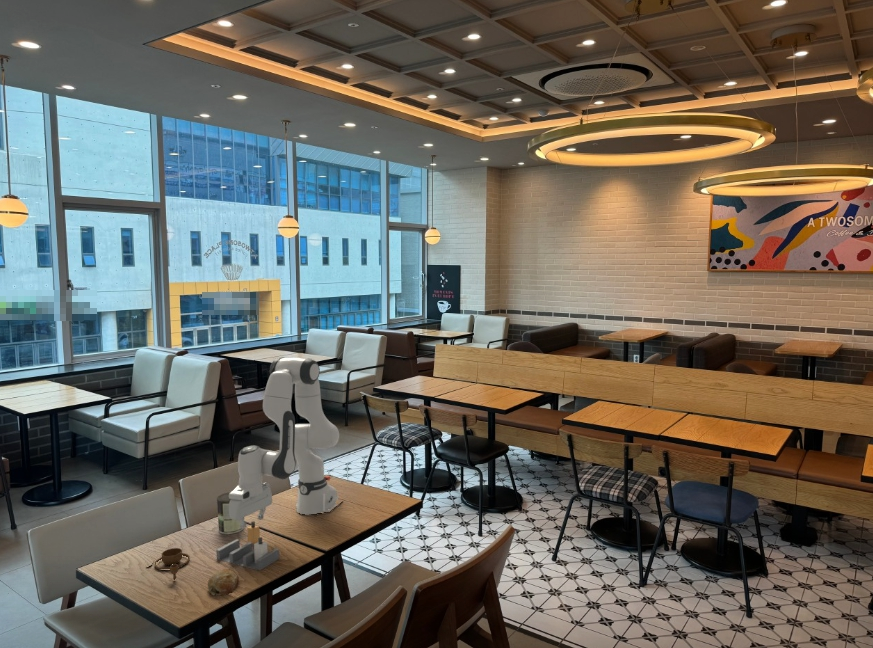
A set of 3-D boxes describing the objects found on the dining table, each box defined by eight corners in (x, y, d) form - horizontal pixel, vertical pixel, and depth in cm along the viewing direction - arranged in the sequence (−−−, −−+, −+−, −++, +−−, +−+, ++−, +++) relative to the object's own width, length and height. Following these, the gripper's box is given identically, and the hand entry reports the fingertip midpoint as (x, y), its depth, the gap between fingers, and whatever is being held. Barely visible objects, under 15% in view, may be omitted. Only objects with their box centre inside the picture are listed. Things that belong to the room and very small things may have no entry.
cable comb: (237, 550, 234) (236, 539, 234) (279, 561, 224) (278, 549, 224) (216, 561, 225) (216, 549, 225) (260, 573, 216) (259, 560, 215)
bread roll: (205, 602, 204) (199, 587, 200) (218, 576, 212) (212, 561, 208) (233, 604, 202) (227, 588, 198) (245, 577, 211) (240, 562, 207)
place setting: (203, 557, 230) (202, 542, 230) (178, 584, 210) (177, 567, 210) (158, 557, 231) (157, 542, 230) (129, 584, 211) (128, 567, 211)
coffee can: (213, 533, 250) (211, 499, 249) (228, 523, 260) (226, 491, 259) (234, 535, 248) (233, 501, 246) (249, 525, 258) (247, 492, 256)
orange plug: (253, 541, 241) (252, 519, 241) (260, 543, 240) (259, 521, 239) (247, 544, 239) (246, 522, 238) (254, 546, 237) (253, 524, 236)
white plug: (260, 559, 224) (259, 535, 223) (267, 561, 222) (266, 537, 222) (254, 562, 221) (253, 538, 220) (262, 564, 220) (261, 540, 219)
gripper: (263, 479, 248) (264, 513, 248) (225, 495, 229) (226, 531, 230) (275, 481, 245) (276, 515, 246) (237, 497, 227) (239, 534, 227)
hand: (252, 523), depth 238 cm, fingers open, 8 cm apart
